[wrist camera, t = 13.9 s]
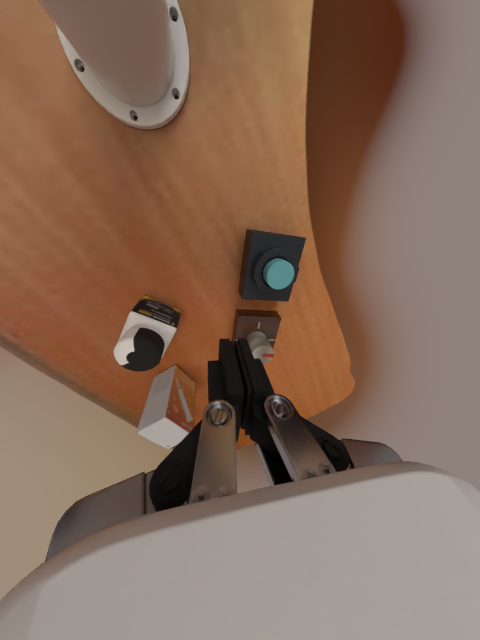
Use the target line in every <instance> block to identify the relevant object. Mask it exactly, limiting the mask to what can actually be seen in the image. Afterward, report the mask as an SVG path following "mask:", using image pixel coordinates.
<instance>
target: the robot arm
mask: <svg viewBox="0 0 480 640" xmlns="http://www.w3.org/2000/svg"><path fill="white" fill-rule="evenodd" d="M38 1H39V2H40V4H41V5H42V6H43V8H44V9H45V10H46V12H47V13H48V14H49V16H50V17H51V18H52V20H53V21H54V22H55V26H56V29H57V33H58V37H59V39H60V42H61V44H62V47H63V49H64V52H65V54H66V57H67V58H68V60H69V62H70V64H71V66H72V68H73V70H74V71H75V73H76V75H77V76H78V78H79V79H80V81H81V82H82V84H83V85H84V87H85V88H86V89H87V91H88V92H89V93H90V94H91V95H92V97H93V98H94V99H95V100H96V101H97V102H98V103H99V104H100V105H101V106H102V107H103V108H104V109H105V110H106V111H107V112H108V113H110V114H111V115H112V116H113V117H115V118H116V119H117V120H119V121H121V122H123V123H125V124H127V125H129V126H131V127H135V128H138V129H147V130H151V129H156V128H160V127H162V126H164V125H166V124H168V123H169V122H170V121H171V120H172V119H173V118H175V117H176V115H177V114H178V112H179V111H180V109H181V108H182V105H183V103H184V100H185V98H186V95H187V90H188V85H189V76H190V58H189V47H188V39H187V33H186V29H185V25H184V21H183V17H182V14H181V11H180V8H179V5H178V3H177V0H38ZM174 19H175V20H176V22H174V21H173V20H174ZM82 69H84V71H83V72H82ZM175 96H178V97H179V99H175ZM134 117H138V120H137V121H135V120H134ZM208 399H209V404H208V405H207V406H206V407H205V409H204V412H203V416H202V420H201V421H200V422H199V423H198V424H197V425H196V426H195V427H194V428H193V429H192V430H191V431H190V433H189V434H188V435H187V436H186V437H185V438H184V439H183V440H182V441H181V442H180V443H179V444H178V445H177V446H176V447H175V449H174V450H173V451H172V452H171V453H170V454H169V455H168V456H167V457H166V458H165V459H164V460H163V461H162V462H161V464H160V465H159V466H158V467H157V469H155V470H153V471H150V472H148V473H146V474H145V473H144V472H142V473H140V474H138V475H135V476H133V477H130V478H128V479H126V480H123V481H121V482H119V483H116V484H114V485H112V486H109V487H107V488H104V489H102V490H100V491H97V492H95V493H92V494H90V495H88V496H85V497H84V498H82V499H80V500H79V501H77V502H75V503H74V504H73V505H72V506H71V507H70V508H69V509H68V510H67V511H66V512H65V513H64V514H63V516H62V517H61V519H60V520H59V521H58V523H57V526H56V528H55V530H54V532H53V535H52V538H51V542H50V545H49V549H48V552H47V556H46V559H45V562H44V563H42V564H41V565H40V566H38V567H37V568H36V569H35V570H33V571H32V572H31V573H30V574H28V575H27V576H26V577H25V578H24V579H22V580H21V581H20V582H19V583H18V584H17V585H16V586H15V587H14V588H12V589H11V590H10V591H9V592H8V593H7V594H6V595H5V596H4V597H3V598H2V599H1V601H0V640H480V492H479V491H478V490H477V489H476V488H474V487H473V486H472V485H470V484H469V483H467V482H466V481H464V480H463V479H461V478H460V477H458V476H456V475H454V474H452V473H450V472H447V471H445V470H442V469H440V468H437V467H434V466H430V465H427V464H423V463H418V462H410V461H402V459H401V458H400V457H399V455H398V454H397V453H396V452H395V451H394V450H393V449H391V448H390V447H389V446H387V445H385V444H382V443H378V442H370V441H361V440H353V439H344V438H342V439H341V440H338V439H337V438H335V437H334V436H332V435H331V434H329V433H327V432H326V431H324V430H323V429H321V428H319V427H318V426H316V425H314V424H313V423H311V422H309V421H308V420H306V419H304V418H303V417H301V416H300V415H299V413H298V412H297V410H296V409H295V407H294V406H293V404H292V403H291V401H290V400H289V399H287V398H286V397H285V396H282V395H279V394H275V393H274V391H273V388H272V386H271V383H270V381H269V379H268V376H267V374H266V371H265V369H264V366H263V364H262V362H261V360H260V359H259V358H256V359H254V357H253V354H252V351H251V349H250V346H249V343H248V340H247V338H238V339H237V341H234V346H233V342H232V341H229V339H220V342H219V360H218V361H208ZM240 427H241V429H244V430H245V435H250V439H252V440H253V441H254V442H255V446H256V449H257V452H258V454H259V457H260V460H261V462H262V465H263V468H264V470H265V473H266V475H267V478H268V481H269V484H270V487H265V488H261V489H256V490H251V491H247V492H242V493H238V494H237V471H236V442H237V441H238V436H239V430H240Z"/></svg>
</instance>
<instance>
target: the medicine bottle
mask: <svg viewBox="0 0 480 640" xmlns="http://www.w3.org/2000/svg"><path fill="white" fill-rule="evenodd" d="M180 314H181V311H180V310H178V309H175V308H173V307H171V306H168V305H166V304H164V303H161V302H159V301H157V300H154V299H152V298H150V297H147V296H143V297H142V298H141V299H140V300H139V302H138V303H137V304H136V305H135V307H134V308H133V309H132V310H131V311H130V313H129V315H128V318H127V320H126V323H125V325H124V328H123V331H122V333H121V336H120V338H119V341H118V343H117V345H116V346H115V348H114V357H115V359H116V360H117V362H118V363H119V364H120V365H121V366H123V367H124V368H126V369H129V370H132V371H146V370H150V369H152V368H154V367H156V366H157V365H158V364H159V362H160V360H161V358H162V357H163V355H164V353H165V351H166V349H167V347H168V345H169V343H170V341H171V340H172V338H173V336H174V334H175V332H176V330H177V326H178V322H179V318H180Z"/></svg>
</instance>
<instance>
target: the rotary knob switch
mask: <svg viewBox="0 0 480 640" xmlns="http://www.w3.org/2000/svg"><path fill="white" fill-rule="evenodd" d="M280 320H281V317H280V316H279V314H278V313H277V312H276V311H255V310H236V314H235V321H234V329H233V336H232V342H233V346H234V341H237V339H238V338H247V336H248V335H249V334H250V333H252V332H255V331H260V332H262V333H264V334H265V336H266V338H267V340H268V342H269V343H270V345H271V347H272V349H273V346H274V343H275V339H276V335H277V332H278V328H279V324H280Z"/></svg>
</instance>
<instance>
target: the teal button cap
mask: <svg viewBox="0 0 480 640" xmlns="http://www.w3.org/2000/svg"><path fill="white" fill-rule="evenodd" d="M293 277H294V268H293V266H292V265H291V264H290V263H289V262H287V261H285V260H283V259H280V258H275V259H272V260H271V261H269V262H268V263H267V264H266V266H265V267H264V270H263V278H264V280H265V282H266V283H267V284H268V285H269V286H270V287H272V288H273V289H283V288H285V287H287V286H288V285H289V284H290V283H291V282H292V280H293Z"/></svg>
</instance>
